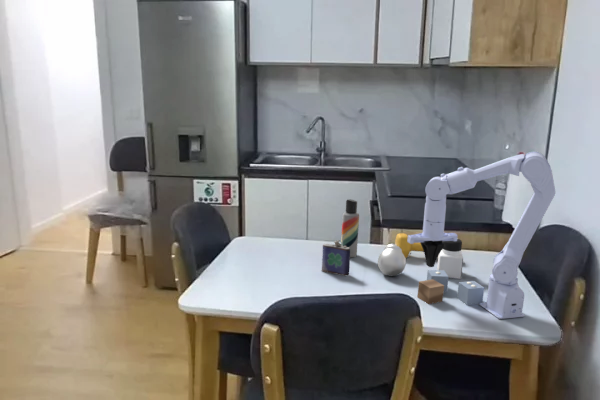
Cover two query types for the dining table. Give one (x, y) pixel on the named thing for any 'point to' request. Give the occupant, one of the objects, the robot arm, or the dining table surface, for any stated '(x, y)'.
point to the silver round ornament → (392, 260)
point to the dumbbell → (407, 244)
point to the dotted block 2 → (470, 292)
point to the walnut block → (430, 291)
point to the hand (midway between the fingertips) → (430, 265)
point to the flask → (336, 258)
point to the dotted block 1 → (438, 277)
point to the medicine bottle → (451, 259)
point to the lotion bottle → (350, 227)
